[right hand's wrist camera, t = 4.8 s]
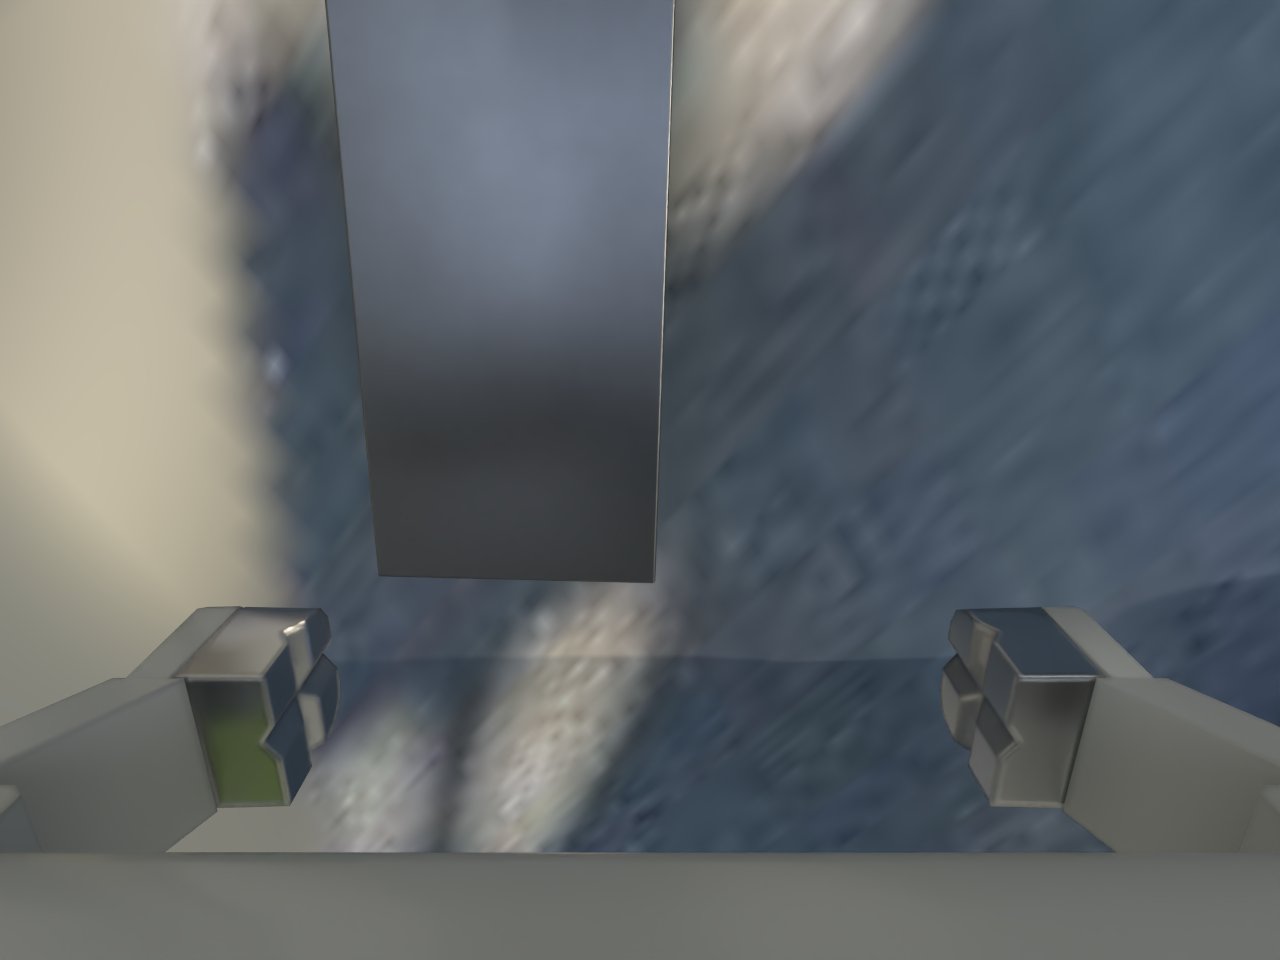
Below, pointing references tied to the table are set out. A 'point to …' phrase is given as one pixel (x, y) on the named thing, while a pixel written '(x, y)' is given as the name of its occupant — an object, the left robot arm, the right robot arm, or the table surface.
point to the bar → (508, 278)
